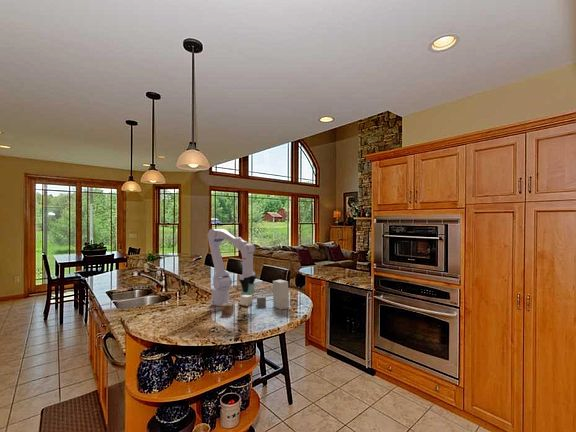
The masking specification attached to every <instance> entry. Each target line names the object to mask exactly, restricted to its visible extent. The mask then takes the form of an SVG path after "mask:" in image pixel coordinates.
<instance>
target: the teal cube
mask: <svg viewBox="0 0 576 432" xmlns="http://www.w3.org/2000/svg"><path fill="white" fill-rule="evenodd" d="M253 294H255V283H254V284H248V291H247V292H243V288H242V287H241V296H243V295H253Z"/></svg>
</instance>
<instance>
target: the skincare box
mask: <svg viewBox="0 0 576 432" xmlns="http://www.w3.org/2000/svg"><path fill="white" fill-rule="evenodd" d="M289 291H290V290H289V281H287V280H283V279H277V280H272V294H273V295H272V298H273V299H272V300H273V302H272V303H273V307H274V308H276V309H278V310H284V309H285V310H286V309H290V298H289V297H290V296H289V295H290V294H289V293H290V292H289Z"/></svg>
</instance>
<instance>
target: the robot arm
mask: <svg viewBox="0 0 576 432" xmlns="http://www.w3.org/2000/svg"><path fill="white" fill-rule="evenodd" d="M206 236H207V240H208V245H209V249H210V254H211V258H212V262H213V266H214V271H215V274H214V275H213V277H212V281H213V282H212V286H213V289H212V290H211V291H212V292H211V303H210V305H211V306H216V307H217V306H218V307H222V305H223V304H224V303H233V302H232V301H230V293H229V292H230V288H231V286H232V284H233V283H232V282H233V281H232V278H231V276H230V273H228V272H227V271H226V270H225V266H224V260H223V256H222V252H221V249H220V248H221V247H220V245H221V244H222V243H223V241H224V240H226V241H228V242H230V243H232V247H234V248H235V249H237V250H239V251H240V254H241V258H242V274H241V275H239V282H240V284H241V289H242V288H243V292H247V291H248V284H254V285H255V281H256V278H257V277H256V271H254V253H255V252H256V246H255V244H254V243H252V242H250V243H249V242H248V241H246V240H244V239H243V238H242V237H241V236H239V237H235V236H234V235H233V234H231V233H230V232H229V231H228V230H227V229H225V228H210V229H209V230H208V232H207V234H206Z"/></svg>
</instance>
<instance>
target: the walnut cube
mask: <svg viewBox="0 0 576 432" xmlns="http://www.w3.org/2000/svg"><path fill="white" fill-rule="evenodd" d="M234 306H235V303H234V302H232V303H224V304H223V305H222V306H221V316H232V315H233V314H234V312H235V311H234V310H235V307H234Z"/></svg>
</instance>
